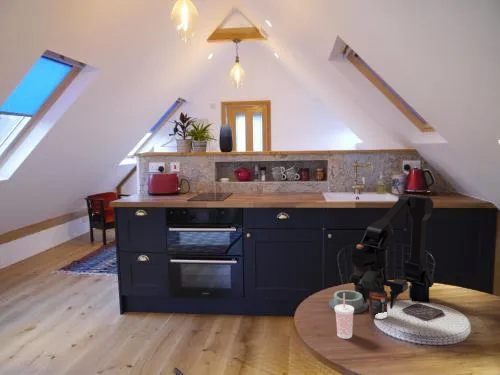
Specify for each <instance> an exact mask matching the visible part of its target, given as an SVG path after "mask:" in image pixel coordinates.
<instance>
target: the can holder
mask: <svg viewBox="0 0 500 375" xmlns="http://www.w3.org/2000/svg"><path fill="white" fill-rule="evenodd" d="M343 293H345V304H346V305H350V306H352V307H354V312H353V315H354V314H360V313H363V312H366V311H367V309H368V302H365V301H364V299H363V297H362V294H360V293H359V292H356V291H355V290H349V289H340V290H336V291H335V292H334V293H333V298H331V299H330V300H329V301H328V306H329V308H330V309H331V310H333V311H334V312H335V308H334V307H335V306H336V305H340V304H343Z"/></svg>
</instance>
